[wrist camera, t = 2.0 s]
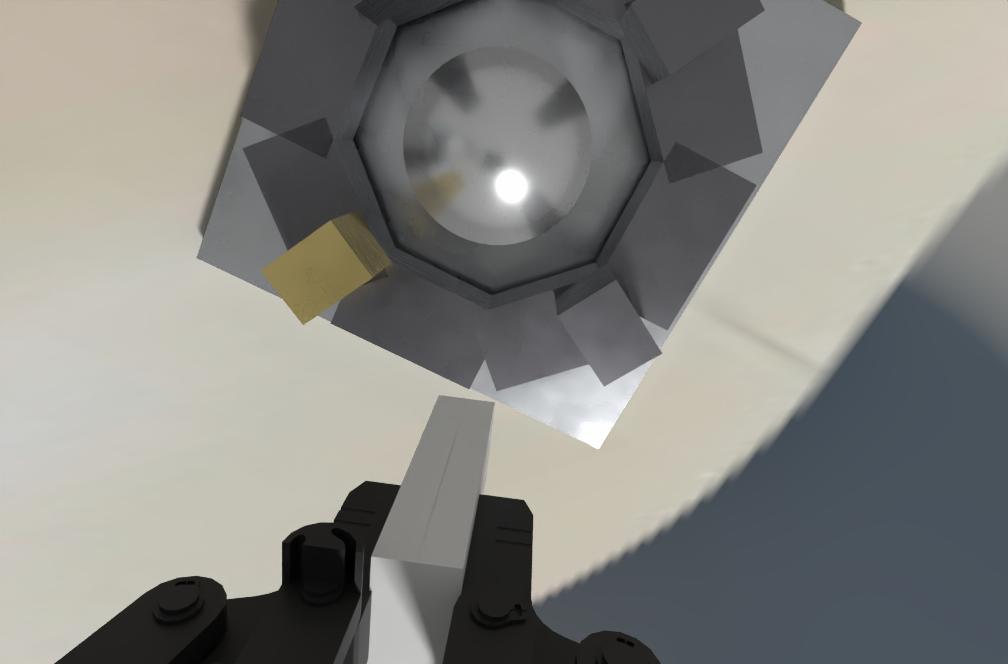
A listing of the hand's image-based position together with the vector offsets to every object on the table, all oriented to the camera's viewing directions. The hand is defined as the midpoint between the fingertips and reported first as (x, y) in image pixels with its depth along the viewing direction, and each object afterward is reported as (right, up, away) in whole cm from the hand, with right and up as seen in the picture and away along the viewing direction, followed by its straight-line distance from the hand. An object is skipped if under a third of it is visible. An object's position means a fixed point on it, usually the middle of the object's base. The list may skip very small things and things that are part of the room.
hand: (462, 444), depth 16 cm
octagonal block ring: (+1, +11, +9) cm, 14 cm away
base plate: (+1, +11, +10) cm, 15 cm away
